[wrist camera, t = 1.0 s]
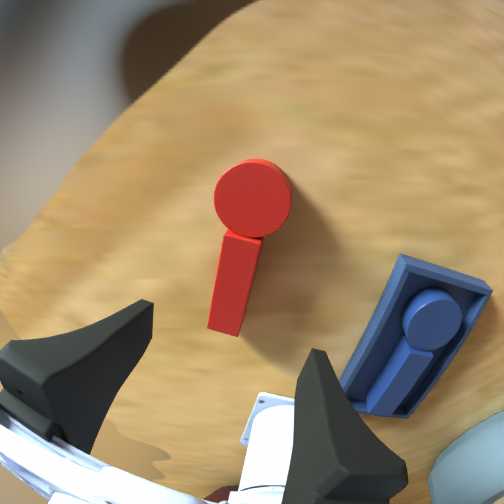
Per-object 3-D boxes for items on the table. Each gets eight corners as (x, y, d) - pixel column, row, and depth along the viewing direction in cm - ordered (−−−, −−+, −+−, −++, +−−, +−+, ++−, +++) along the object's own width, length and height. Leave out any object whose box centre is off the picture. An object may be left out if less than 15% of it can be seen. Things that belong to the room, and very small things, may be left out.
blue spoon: (396, 399, 23) (400, 417, 21) (353, 393, 24) (355, 412, 22) (462, 293, 19) (474, 308, 17) (416, 279, 19) (425, 295, 17)
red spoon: (258, 323, 23) (253, 341, 21) (200, 307, 23) (191, 323, 21) (300, 168, 18) (299, 174, 16) (228, 151, 18) (219, 154, 16)
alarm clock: (543, 430, 24) (564, 484, 13) (438, 489, 31) (446, 548, 20) (551, 368, 20) (592, 440, 9) (410, 453, 27) (421, 538, 16)
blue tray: (405, 406, 24) (407, 419, 23) (328, 396, 25) (329, 409, 23) (483, 280, 18) (493, 290, 17) (399, 253, 19) (406, 263, 17)
